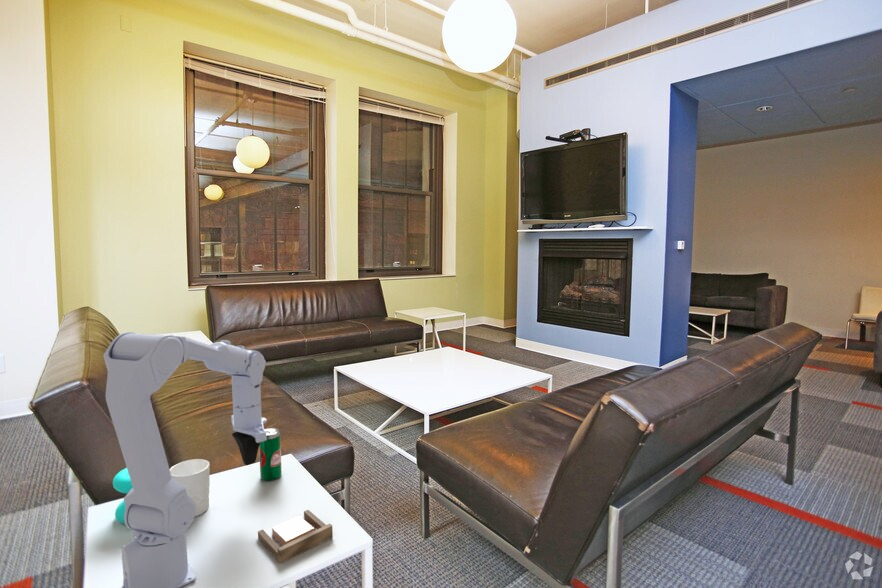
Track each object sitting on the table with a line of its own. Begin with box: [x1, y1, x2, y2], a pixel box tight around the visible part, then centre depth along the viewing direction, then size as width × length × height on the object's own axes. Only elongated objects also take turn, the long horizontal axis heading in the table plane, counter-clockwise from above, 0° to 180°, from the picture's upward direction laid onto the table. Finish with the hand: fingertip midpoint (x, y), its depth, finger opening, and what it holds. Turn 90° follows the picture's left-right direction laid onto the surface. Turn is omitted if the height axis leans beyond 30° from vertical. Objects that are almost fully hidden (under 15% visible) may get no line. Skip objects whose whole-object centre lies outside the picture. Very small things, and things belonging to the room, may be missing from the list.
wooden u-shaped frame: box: [257, 509, 334, 564], centre depth 92 cm, size 11×10×2 cm
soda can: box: [258, 427, 283, 482], centre depth 116 cm, size 5×5×12 cm
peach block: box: [271, 515, 315, 546], centre depth 93 cm, size 6×6×2 cm
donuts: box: [112, 467, 133, 525], centre depth 100 cm, size 10×10×10 cm
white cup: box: [169, 458, 210, 518], centre depth 101 cm, size 8×8×10 cm
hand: (249, 462), depth 102 cm, fingers closed
